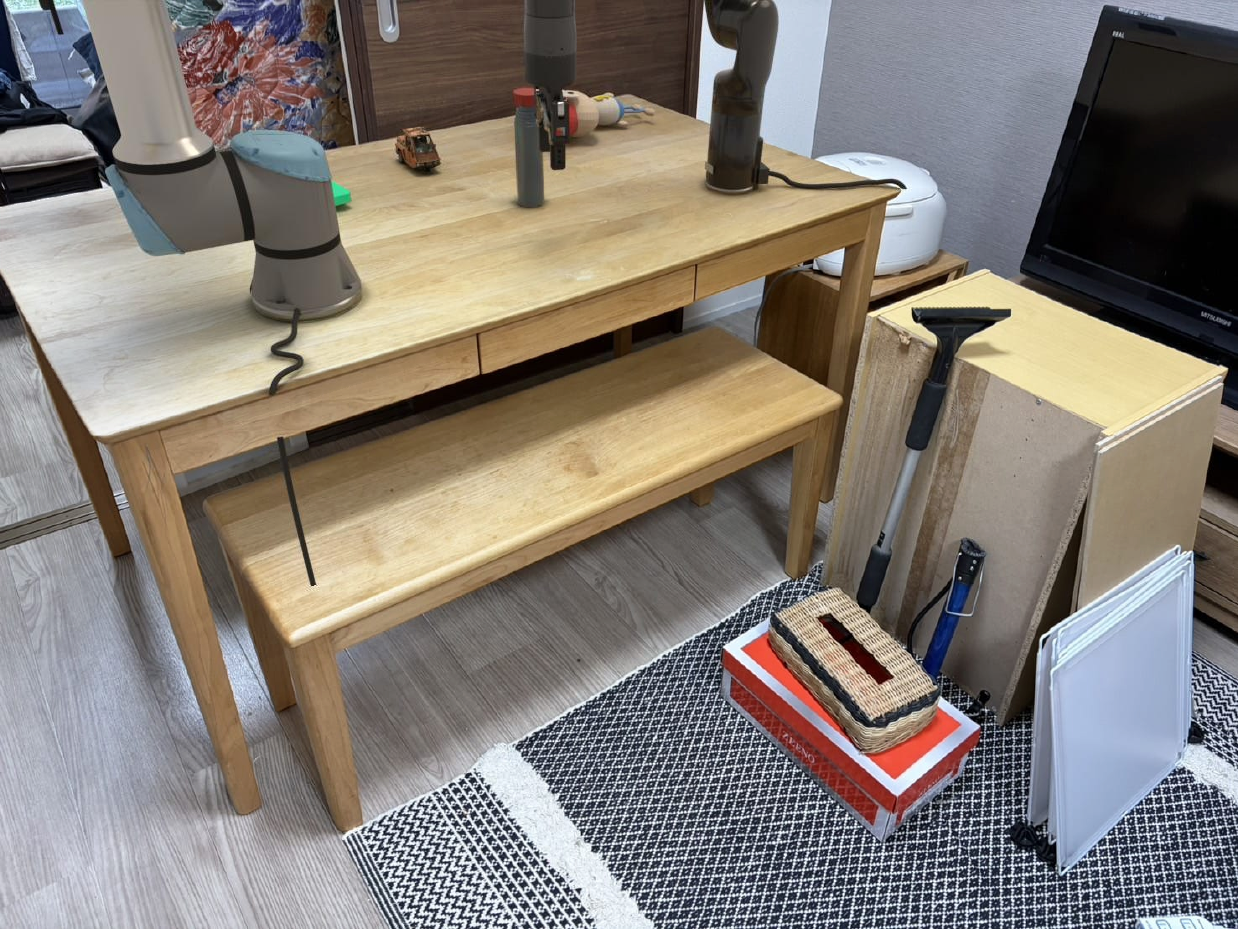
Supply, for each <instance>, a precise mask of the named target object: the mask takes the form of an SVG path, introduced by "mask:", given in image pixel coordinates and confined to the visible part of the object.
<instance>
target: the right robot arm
mask: <svg viewBox="0 0 1238 929" xmlns="http://www.w3.org/2000/svg"><path fill="white" fill-rule="evenodd" d="M523 4H524V21H523V59H524V60H523V61H524V79H525V82H526V83H528V84H529V85H531V86H533V88H534V116H535V119H536V118H537V120H536V123H537V126H540V127H539V149H540V151H541V152H543V153H549V167H550V168H551V170H552V171H563V170H565V169H566V164H567V163H566V159H567V158H566V145H570V143H571V136H570V123H569V107H570V104H569V101H567V100H566V97H563V91H562V90H564V88H566V87H570V86H572V85H574V84H575V83H576V81H577V25H576V24H577V23H576V15H575V0H524V1H523ZM703 4H704V9H705V16H706V21H707V25H708V26H707V27H708V30H709V33H710V35H711V37H712V39H713V40H714V42H715V43H716V44H718V45H719V46H721V47H722V48H724V49H728V50H732V51H735V52H736V53H735V59H734V62H733V66H732V68H728V69H723V70H720V71H718V72H717V73H716V74H715V76H714V78H713V86H712V98H711V111H710V122H709V135H708V147H707V158H706V159H707V160H705V161H704V162H705V163H704V169H705V170H706V171H705V179H704V186H705V187H706V188H707V189H708V190H709V191H711V192H715V193H719V194H724V195H743V194H748V193H750V192H752V191H757V190H758V189H759V186H760V185H768V184H769V177H773V178H777V179H780V180H782V181H783V182H784V183H786V184H787V185H788V186H790V187H793V188H797V189H804V190H825V189H845V188H855V187H860V186H861V187H862V186H878V185H887V184H888V185H889V184H891V185H896V186H897V187H898V188H900V190H907V189H908V188H907V186H906V184H905V183H904V182H902V181H901V180H899V179H896V178H881V179H865V180H864V179H863V180H855V181H854V180H853V181H847V182H828V183H826V182H825V183H802V182H797V181H794V180H791V179H790V178H789V177H788V176H786V175H785V174H783V173H781V172H777V171H774V170H770V167H769V166H767V165H766V164H765V163H763V162H762V156H763V148H764V138H763V137H762V136H761V129H762V128H761V127H762V118H763V110H764V109H763V108H764V101H765V92H766V86H767V84H768V82H769V79H770V76H771V73H772V69H773V64H774V57H775V51H776V44H777V38H778V32H779V22H780V20H779V19H780V18H779V10H778V6H777V5H776V2H775V1H774V0H703ZM561 117H562V118H561ZM556 130H560V131H561V134H562V136H557V135H556Z"/></svg>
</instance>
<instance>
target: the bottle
mask: <svg viewBox="0 0 1238 929" xmlns="http://www.w3.org/2000/svg"><path fill="white" fill-rule="evenodd" d="M536 120H537V118H536V119H535V116H534V107H522V106H517V107H516V110H515V114H514V121H513V129H514V153H515V175H516V176H515V177H516V199H517V200H516V201H517V205H519V206H521V207H524V208H537V207H541V206H543V205H544V204H545V175H544V174H545V172H544V152H541V151H540V149H539V127H540V126H537V123H536Z"/></svg>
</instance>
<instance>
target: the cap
mask: <svg viewBox="0 0 1238 929" xmlns="http://www.w3.org/2000/svg"><path fill="white" fill-rule="evenodd" d="M512 92H513V94H512V96H513V97H512V100H513V105H515V106H517V107H518V106H522V107H534V87H519V88H516V89H514V90H513V91H512Z"/></svg>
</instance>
